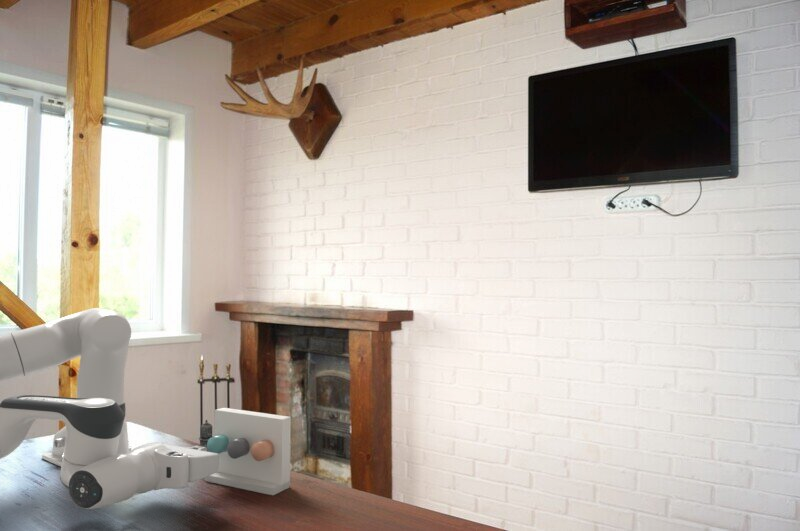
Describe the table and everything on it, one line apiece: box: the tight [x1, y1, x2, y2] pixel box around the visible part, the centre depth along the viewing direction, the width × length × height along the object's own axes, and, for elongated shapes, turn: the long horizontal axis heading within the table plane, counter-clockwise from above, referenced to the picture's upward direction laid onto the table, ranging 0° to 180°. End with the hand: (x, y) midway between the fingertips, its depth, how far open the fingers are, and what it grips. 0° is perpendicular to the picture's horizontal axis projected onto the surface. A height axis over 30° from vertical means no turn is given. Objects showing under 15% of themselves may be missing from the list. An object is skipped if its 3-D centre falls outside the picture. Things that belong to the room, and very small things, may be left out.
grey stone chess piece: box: [198, 419, 213, 452], centre depth 157 cm, size 6×6×12 cm
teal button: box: [207, 434, 229, 454], centre depth 145 cm, size 4×3×4 cm
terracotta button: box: [251, 440, 274, 461], centre depth 140 cm, size 4×3×4 cm
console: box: [204, 407, 292, 496], centre depth 145 cm, size 20×6×16 cm, turn 63°
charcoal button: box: [227, 438, 250, 459], centre depth 142 cm, size 4×3×4 cm
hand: (202, 449), depth 140 cm, fingers closed
